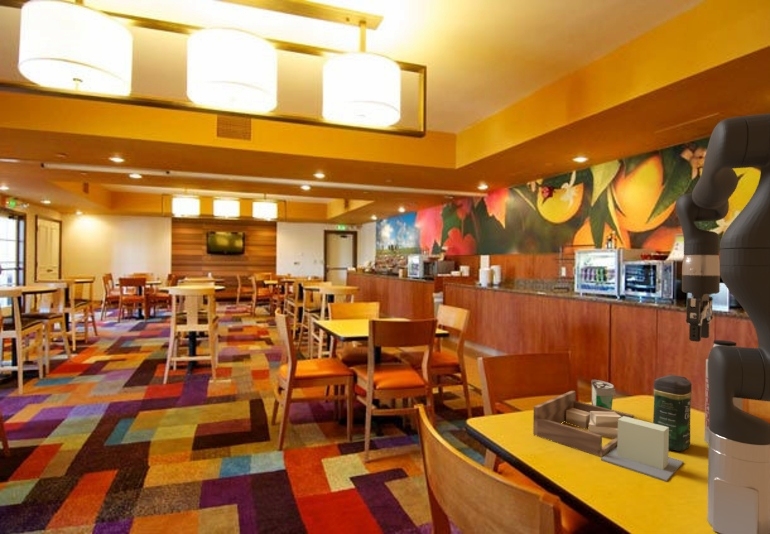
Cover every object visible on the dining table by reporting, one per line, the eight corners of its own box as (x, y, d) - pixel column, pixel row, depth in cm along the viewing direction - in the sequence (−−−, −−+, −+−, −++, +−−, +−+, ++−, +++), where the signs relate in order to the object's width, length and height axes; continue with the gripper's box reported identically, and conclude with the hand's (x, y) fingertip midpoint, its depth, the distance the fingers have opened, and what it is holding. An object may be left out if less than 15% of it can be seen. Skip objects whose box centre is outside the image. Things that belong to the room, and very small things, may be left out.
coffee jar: (682, 455, 110) (683, 382, 110) (648, 444, 116) (649, 376, 116) (694, 445, 116) (696, 376, 116) (661, 436, 122) (662, 370, 122)
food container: (618, 423, 131) (619, 391, 131) (596, 421, 133) (596, 388, 133) (611, 410, 143) (612, 380, 143) (591, 408, 145) (591, 379, 145)
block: (663, 469, 101) (663, 431, 101) (617, 455, 108) (617, 419, 108) (668, 464, 103) (668, 427, 103) (623, 450, 111) (623, 416, 111)
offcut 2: (621, 427, 121) (621, 416, 121) (595, 426, 122) (595, 415, 121) (614, 422, 125) (614, 411, 125) (589, 421, 126) (590, 411, 125)
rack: (602, 457, 108) (602, 425, 108) (533, 434, 122) (533, 406, 122) (635, 432, 124) (636, 405, 124) (571, 415, 138) (571, 390, 138)
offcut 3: (619, 441, 119) (620, 430, 119) (588, 434, 124) (588, 423, 124) (622, 435, 123) (622, 425, 123) (591, 429, 128) (591, 418, 128)
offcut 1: (585, 429, 126) (585, 416, 126) (566, 423, 131) (566, 410, 131) (592, 426, 129) (592, 413, 129) (572, 420, 134) (572, 407, 134)
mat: (666, 481, 96) (666, 479, 96) (600, 460, 106) (600, 458, 106) (683, 462, 105) (683, 461, 105) (621, 444, 116) (621, 443, 116)
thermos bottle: (703, 444, 117) (705, 341, 117) (705, 435, 123) (707, 337, 123) (741, 452, 112) (743, 344, 111) (741, 443, 118) (743, 340, 118)
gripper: (712, 274, 99) (711, 344, 99) (725, 274, 108) (724, 338, 108) (674, 273, 104) (673, 340, 104) (689, 273, 114) (688, 334, 114)
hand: (699, 339), depth 106 cm, fingers open, 8 cm apart
